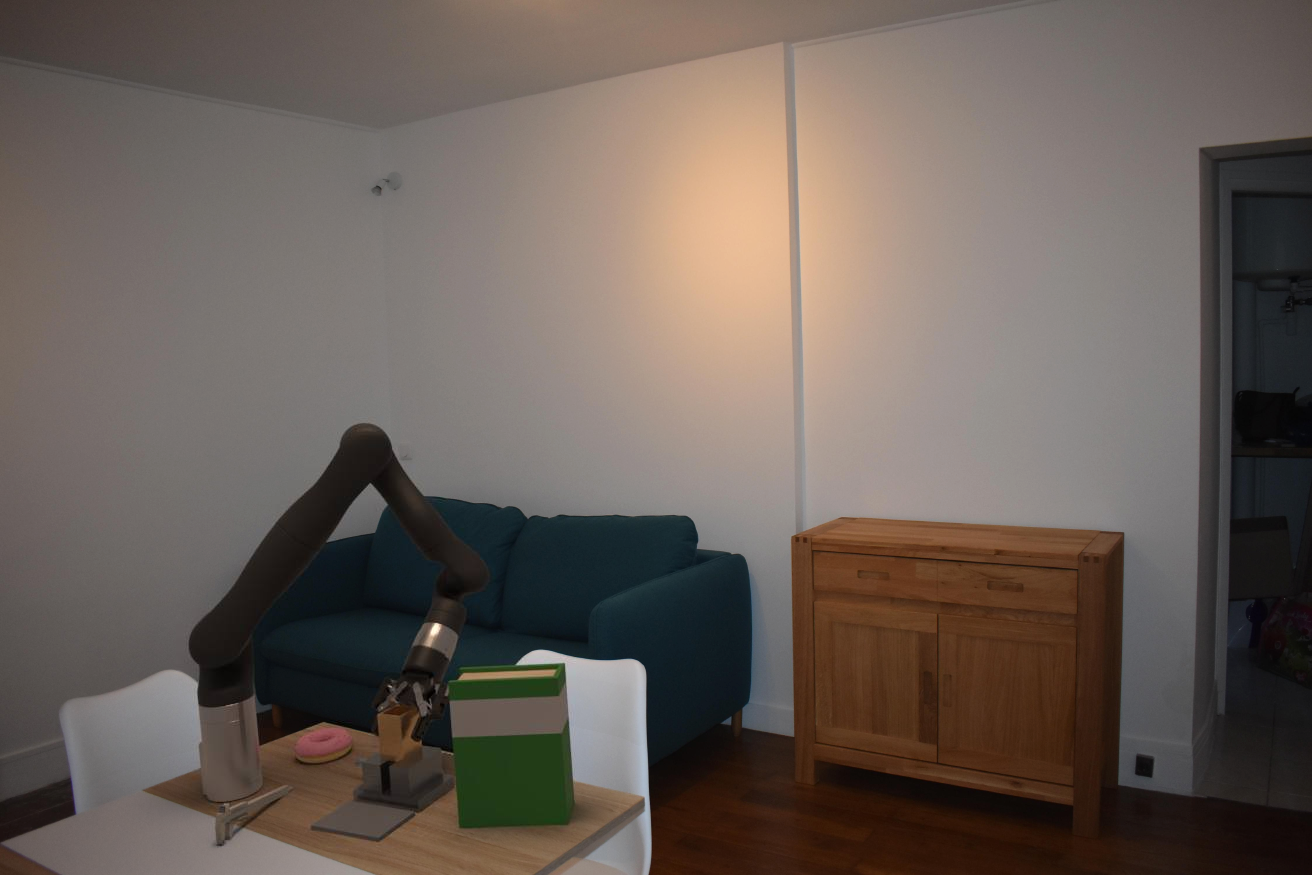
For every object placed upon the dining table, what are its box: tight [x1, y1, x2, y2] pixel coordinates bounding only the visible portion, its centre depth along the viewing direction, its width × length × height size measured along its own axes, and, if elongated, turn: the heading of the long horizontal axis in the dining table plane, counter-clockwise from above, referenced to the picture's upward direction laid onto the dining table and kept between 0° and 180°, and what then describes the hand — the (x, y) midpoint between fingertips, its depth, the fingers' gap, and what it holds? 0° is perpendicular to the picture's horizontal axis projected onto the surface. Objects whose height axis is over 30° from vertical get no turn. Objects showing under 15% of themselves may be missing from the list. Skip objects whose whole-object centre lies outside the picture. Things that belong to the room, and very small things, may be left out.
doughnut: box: [293, 727, 353, 764], centre depth 180 cm, size 11×11×4 cm
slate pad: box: [310, 800, 416, 843], centre depth 150 cm, size 14×9×1 cm, turn 67°
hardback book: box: [447, 662, 576, 829], centre depth 148 cm, size 18×7×24 cm, turn 87°
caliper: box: [214, 784, 295, 845], centre depth 154 cm, size 20×1×6 cm, turn 171°
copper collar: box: [376, 705, 423, 763], centre depth 159 cm, size 5×5×8 cm
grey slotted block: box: [352, 745, 456, 813], centre depth 159 cm, size 17×10×13 cm, turn 67°
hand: (395, 737), depth 157 cm, fingers open, 8 cm apart
